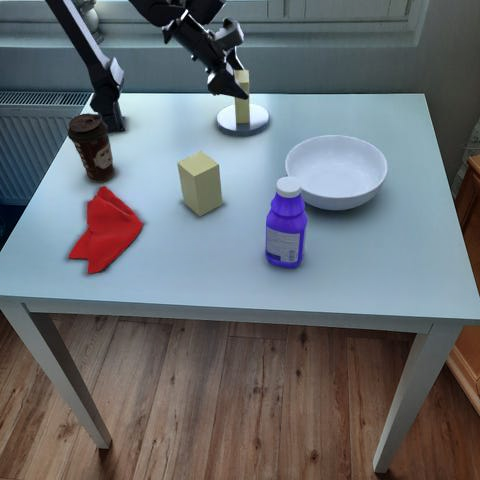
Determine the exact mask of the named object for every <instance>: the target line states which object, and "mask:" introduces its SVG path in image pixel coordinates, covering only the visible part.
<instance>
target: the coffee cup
mask: <svg viewBox="0 0 480 480" xmlns="http://www.w3.org/2000/svg"><path fill="white" fill-rule="evenodd" d="M67 129H68V130H67V137H68V139H69V140H70V141H71V142H72V143H73V145H74V148H75V150H76V151H77V153H78V155H79V158H80V160H81V163H82V165H83V168H84V169H85V172H86V177H87V178H88V179H89V180H90V181H91V182H93V183H104V182H107V181H109V180H111V179H112V178H113V177H114V176H115V174H116V170H115V168H114V164H113V163H114V158H113V153H112V147H111V141H110V137H109V135H108V134H109V133H107V130H108V129H107V125H106V124H105V123H104V122H103V121H102V117H101V116H99V115H98V113H89V112H87V113H81V114H79V115H76V116H74V117H73V118H71V119H70V120H69V123H68V128H67Z"/></svg>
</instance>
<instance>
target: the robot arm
mask: <svg viewBox="0 0 480 480" xmlns="http://www.w3.org/2000/svg"><path fill="white" fill-rule="evenodd" d="M44 1H45V3H46V4H47V6H48V8H49V9H50V12H51V13H52V14H53V16H54V17H55V19H56V21H57V22H58V23H59V25H60V27H61V28H62V30H63V32H64V33H65V35H66V36H67V38H68V39H69V41H70V43H71V44H72V46H73V48H74V49H75V50H76V52H77V54H78V55H79V56H80V58H81V60H82V61H83V63H84V65H85V67H86V69H87V73H88V76H89V80H90V85H91V86H92V88H93V95H92V97H91V99H90V102H89V107H90V108H91V110H92V111H93V113H96V114H98V115H99V116H101V117H102V121H103V122H104V123H105V124H106V125H107V129H108V130H107V134H114V133H116V134H117V133H123V132H124V133H125V132H126V127H127V119H126V116H123V114H122V111H121V106H120V103H119V99H120V97H121V95H122V91H123V88H124V85H125V77H124V73H125V71H124V70H123V69H122V68H121V67H120V65H119V63H118V60H117V58H116V56H113V57H111V58H109V57H107V56H106V55H105V54H104V53H103V52H102V50H101V48H100V47H99V45H98V44H97V42H96V40H95V39H94V37H93V35H92V34H91V32H90V30H89V28H88V27H87V25H86V23H85V22H84V20H83V19H82V17H81V15H80V13H79V11H78V10H77V8H76V6H75V5H74V3H73V1H72V0H44ZM127 1H128V2H129V3H130V5H132V6H133V7H134V8H135V10H136V11H137V13H138V14H139V15H140V16H141V17H142V18H144V19H145V20H146V21H147V22H148V23H149V24H150V25H152V26H154V27H155V28H159V29H161V28H162V29H161V33H162V35H163V43H164V45H168V44H169V43H170V41H171V40H172V39H174V40H175V41H176V42H177V43H178V44H179V45H180V46H181V47H182V48H183V49H185V50H186V51H187V52H188V53H189V54H190V55H191V58H190V59H191V60H192V61H193V62H194V63H195V62H196V61H198V62H199V63H200V64H201V65H202V66H203V67H204V68H205V73H206V74H207V75H209V76H208V77H207V83H206V85H207V91H208V92H209V93H210V94H211V95H212V96H213V97H214V96H215V97H216V96H220V95H223V96H227V97H233V98H234V97H236V98H240V99H243V100H247V99H248V98H249V99H250V94H249V95H248V94H247V93H246V91H245V90H244V89H243V88H242V86H241V85H240V84H239V83H238V82H237V80H236V79H235V71H236V70H246V69H245V67H244V66H243V64H242V63H241V61H240V59H239V58H238V56H237V47H239V46H241V45H242V44H243V43H244V33H243V31H242V28H241V24H240V22H238V21H237V19H233V18H232V17H231V16H229V15H228V16H226V17H225V18H223V19H222V27H220V28H219V30H218V31H217V32H215V31H213V29H209V28H208V29H207V30H206V29H205V28H204V26H209V25H210V24H211V23H212V22H213V20H214V19H215V18H216V17H217V15H218V14H219V13H220V12H221V10H222V9H223V8H224V6H225V5H226V4H227V3H228V2H227V0H127Z"/></svg>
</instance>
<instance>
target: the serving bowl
mask: <svg viewBox="0 0 480 480" xmlns="http://www.w3.org/2000/svg"><path fill="white" fill-rule="evenodd" d="M284 172H285V173H284V174H285V177H295V178H297V179H299V180H300V182H301V198H302V199H303V201H304V203H306V204H308V205H309V206H312V207H314V208H318V209H320V210H321V209H322V210H327V211H345V210H350V209H354V208H358V207H360V206H362V205H363V204H365V203H367V202H369V201H370V200H372V199H373V198H374V197H375V196H376V195H377V194H378V192H379V191H380V190H381V188H382V187H383V185H384V183H385V181H386V179H387V176H388V173H389V165H388V161H387V159H386V157H385V155H384V154H383V152H381V150H379V148H377V147H376V146H374V145H373V144H371V143H369V142H368V141H365V140H363V139H360V138H357V137H354V136H347V135H340V134H327V135H320V136H314V137H311V138H308V139H305V140H303V141H301V142H299V143H298V144H296V145H295V146H294V147H293V148H292V149H291V150H290V151H289V152H288V153H287V155H286V157H285V161H284Z"/></svg>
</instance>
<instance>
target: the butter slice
mask: <svg viewBox="0 0 480 480" xmlns="http://www.w3.org/2000/svg"><path fill="white" fill-rule="evenodd" d="M235 79H236V80H237V82H238V83H239V84H240V85H241V86H242V88H243V89H244V90H245V91H246V93H247V94H248V95H249V96H250V70H249V69H245V70H236V71H235ZM233 98H234V104H235V117H236V123H250V104H251V103H250V97H249V98H248V99H247V100H243V99H240V98H236V97H233Z"/></svg>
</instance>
